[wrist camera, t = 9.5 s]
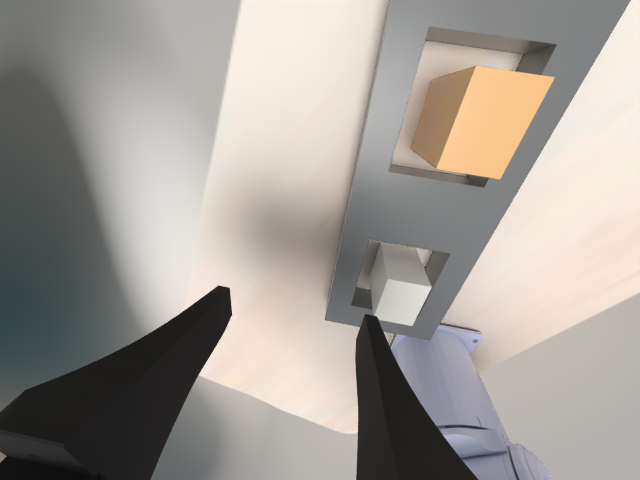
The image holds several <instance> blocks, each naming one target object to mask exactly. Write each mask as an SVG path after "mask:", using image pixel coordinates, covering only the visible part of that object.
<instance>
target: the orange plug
mask: <svg viewBox="0 0 640 480" xmlns="http://www.w3.org/2000/svg"><path fill="white" fill-rule="evenodd" d="M554 78H555V77H550V76H543V75H536V74H529V73H522V72H515V71H509V70H502V69H495V68H488V67H481V66H474V67H471V68H468V69H464V70H461V71H458V72H455V73H452V74H449V75H446V76H443V77H439V78H436V79H433V80H432V82H431V85H430V88H429V92H428V95H427V98H426V101H425V104H424V107H423V111H422V114H421V117H420V120H419V123H418V126H417V130H416V133H415V136H414V139H413V142H412V145H411V149H412V150H413V151H414V152H416V153H417V154H418V155H419V156H421V157H422V158H423V159H424V160H426V161H427V162H428V163H430V164H431V165H432V166H433V167H435V168H436V169H440V170H446V171H452V172H459V173H465V174H471V175H477V176H483V177H489V178H495V179H501V177H502V175H503V173H504V171H505V169H506V168H507V166H508V164H509V162H510V160H511V158H512V156H513V154H514V153H515V151H516V149H517V147H518V145H519V143H520V141H521V140H522V138H523V136H524V134H525V132H526V130H527V128H528V127H529V125H530V123H531V121H532V119H533V117H534V115H535V114H536V112H537V110H538V108H539V106H540V104H541V102H542V100H543V99H544V97H545V95H546V93H547V91H548V89H549V87H550V86H551V84H552V82H553V80H554Z"/></svg>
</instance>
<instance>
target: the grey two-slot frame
mask: <svg viewBox="0 0 640 480" xmlns="http://www.w3.org/2000/svg"><path fill="white" fill-rule="evenodd" d="M630 1H631V0H389V5H388V10H387V14H386V19H385V24H384V29H383V34H382V39H381V44H380V48H379V53H378V58H377V63H376V68H375V73H374V78H373V82H372V87H371V92H370V97H369V102H368V107H367V111H366V116H365V121H364V126H363V131H362V136H361V141H360V145H359V150H358V155H357V160H356V165H355V170H354V175H353V179H352V184H351V189H350V194H349V199H348V204H347V209H346V213H345V218H344V223H343V228H342V233H341V238H340V242H339V247H338V252H337V257H336V262H335V267H334V272H333V276H332V281H331V286H330V291H329V296H328V301H327V308H326V315H325V320H327V321H332V322H337V323H342V324H347V325H353V326H358V327H361V324H362V321H363V318H364V315H365V314H368V315H373V309H372V297H371V291H370V290H365V289H360V288H356V285H357V281H358V278H359V274H360V271H361V267H362V264H363V260H364V257H365V253H366V249H367V246H368V242H369V239H372V240H378V241H383V242H389V243H394V244H400V245H406V246H411V247H417V248H422V249H428V250H434V251H433V253H432V255H431V258H430V260H429V262H428V264H427V266H426V268H425V272H426V275H427V277H428V279H429V282H430V284H431V286H432V288H431V290H430V292H429V294H428V296H427V298H426V300H425V302H424V304H423V306H422V308H421V310H420V312H419V314H418V316H417V318H416V320H415V322H414V324H413V326H409V325H404V324H398V323H393V322H388V321H383V320H379V322H380V325H381V327H382V330H383V332H389V333H394V334H399V335H404V336H409V337H414V338H419V339H424V340H431V338H432V336H433V334H434V333H435V331H436V329H437V328H438V326H439V324H440V323H441V321H442V319H443V317H444V316H445V314H446V312H447V311H448V309H449V307H450V306H451V304H452V302H453V301H454V299H455V297H456V295H457V294H458V292H459V290H460V289H461V287H462V285H463V284H464V282H465V280H466V279H467V277H468V275H469V273H470V272H471V270H472V268H473V267H474V265H475V263H476V262H477V260H478V258H479V256H480V255H481V253H482V251H483V250H484V248H485V246H486V245H487V243H488V241H489V240H490V238H491V236H492V234H493V233H494V231H495V229H496V228H497V226H498V224H499V223H500V221H501V219H502V217H503V216H504V214H505V212H506V211H507V209H508V207H509V206H510V204H511V202H512V201H513V199H514V197H515V195H516V194H517V192H518V190H519V189H520V187H521V185H522V184H523V182H524V180H525V179H526V177H527V175H528V173H529V172H530V170H531V168H532V167H533V165H534V163H535V162H536V160H537V158H538V156H539V155H540V153H541V151H542V150H543V148H544V146H545V145H546V143H547V141H548V140H549V138H550V136H551V134H552V133H553V131H554V129H555V128H556V126H557V124H558V123H559V121H560V119H561V118H562V116H563V114H564V112H565V111H566V109H567V107H568V106H569V104H570V102H571V101H572V99H573V97H574V95H575V94H576V92H577V90H578V89H579V87H580V85H581V84H582V82H583V80H584V79H585V77H586V75H587V73H588V72H589V70H590V68H591V67H592V65H593V63H594V62H595V60H596V58H597V57H598V55H599V53H600V51H601V50H602V48H603V46H604V45H605V43H606V41H607V40H608V38H609V36H610V34H611V33H612V31H613V29H614V28H615V26H616V24H617V23H618V21H619V19H620V18H621V16H622V14H623V12H624V11H625V9H626V7H627V6H628V4H629V2H630ZM425 40H427V41H434V42H442V43H449V44H456V45H463V46H470V47H477V48H484V49H491V50H498V51H505V52H512V53H520V54H524V55H523V57H522V60H521V62H520V64H519V66H518V68H517V70H516V72H522V73H529V74H536V75H543V76H550V77H555V78H554V80H553V82H552V84H551V86H550V87H549V89H548V91H547V93H546V95H545V97H544V99H543V100H542V102H541V104H540V106H539V108H538V110H537V112H536V114H535V115H534V117H533V119H532V121H531V123H530V125H529V127H528V128H527V130H526V132H525V134H524V136H523V138H522V140H521V141H520V143H519V145H518V147H517V149H516V151H515V153H514V154H513V156H512V158H511V160H510V162H509V164H508V166H507V168H506V169H505V171H504V173H503V175H502V177H501V179H495V178H489V177H483V176H477V175H471V174H469V175H468V177H464V176H458V175H452V174H446V173H440V172H433V171H427V170H421V169H415V168H409V167H403V166H397V165H391V160H392V157H393V153H394V150H395V146H396V143H397V139H398V136H399V132H400V128H401V125H402V121H403V118H404V114H405V111H406V107H407V104H408V100H409V96H410V93H411V89H412V86H413V82H414V79H415V75H416V72H417V68H418V64H419V61H420V57H421V54H422V50H423V47H424V43H425Z"/></svg>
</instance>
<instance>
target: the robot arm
mask: <svg viewBox="0 0 640 480" xmlns="http://www.w3.org/2000/svg"><path fill="white" fill-rule="evenodd" d="M231 316H232V309H231V298H230V288H228V287H223V286H217V287H216V288H215V289H213V290H212V291H210V292H209V293H208V294H206V295H205V296H204V297H202V298H201V299H200V300H198V301H197V302H196V303H194V304H193V305H192V306H190V307H189V308H187V309H186V310H185V311H183V312H182V313H180V314H179V315H178V316H176V317H174V318H173V319H171V320H170V321H168V322H167V323H165V324H164V325H162V326H161V327H159V328H157V329H156V330H154V331H153V332H151V333H149V334H148V335H146V336H144V337H142V338H141V339H139V340H137V341H135V342H133V343H132V344H130V345H128V346H126V347H124V348H122V349H120V350H118V351H116V352H114V353H112V354H110V355H108V356H106V357H104V358H102V359H100V360H97V361H95V362H93V363H91V364H89V365H86V366H84V367H82V368H79V369H77V370H75V371H73V372H70V373H68V374H65V375H63V376H60V377H58V378H55V379H53V380H50V381H48V382H45V383H42V384H40V385H37V386H35V387H32V388H30V389H27V390H25V391H24V392H23V393H22V394H21V395H20V396H18V397H17V398H16V399H15V400H14V401H12V402H11V403H10V404H9V405H8V406H7V407H5V408H4V409H3V410H2V411H1V412H0V452H2V453H3V454H5V455H6V456H7V457H6V458H5V459H4V460H3V461H2V462H1V463H0V480H150V479H151V477H152V474H153V472H154V469H155V467H156V465H157V462H158V460H159V457H160V455H161V453H162V450H163V448H164V446H165V443H166V441H167V439H168V437H169V434H170V432H171V430H172V428H173V426H174V423H175V421H176V419H177V417H178V415H179V413H180V411H181V409H182V406H183V404H184V402H185V400H186V398H187V396H188V394H189V392H190V390H191V388H192V386H193V384H194V382H195V380H196V378H197V377H198V375H199V373H200V371H201V370H202V368H203V367H204V365H205V363H206V362H207V360H208V358H209V357H210V355H211V353H212V352H213V350H214V348H215V347H216V345H217V343H218V342H219V340H220V338H221V337H222V335H223V333H224V331H225V329H226V327H227V325H228V323H229V320H230V318H231ZM482 338H483V336H482V334H481V333H480V332H476V331H471V330H466V329H461V328H455V327H450V326H445V325H440V324H439V326H438V328H437V329H436V331H435V333H434V334H433V336H432V338H431V340H424V339H419V338H414V337H409V336H404V335H399V334H396V336H395V339H394V341H393V343H392V345H391V347H390V346H389V344H388V342H387V339H386V337H385V335H384V332H383V330H382V327H381V325H380V322H379V319H378V317H377V316H373V315H368V314H365V315H364V318H363V321H362V324H361V327H360V330H359V333H358V336H357V339H356V358H355V361H356V379H357V396H358V451H357V452H358V453H357V476H356V480H554V479H553V477H552V476H551V474H550V473H549V471H548V470H547V468H546V467H545V466H544V464H543V463H542V461H541V460H540V459H539V458H538V457H537V456H536V455H535V454H534V453H532V452H531V451H529V450H527V449H526V448H525V447H524V446H523V445H521V444H514V445H513V444H512V443H511V442H510V441H509V439H508V436H507V434H506V432H505V430H504V428H503V426H502V423H501V422H500V419H499V417H498V415H497V413H496V411H495V408H494V406H493V404H492V402H491V400H490V398H489V395H488V393H487V391H486V389H485V387H484V385H483V382H482V380H481V378H480V376H479V374H478V372H477V369H476V367H475V365H474V363H473V361H472V359H471V356H470V354H471V353H472V351H473V350H474V349H475V348H476V346H477V345H478V344H479V342H480V341H481V340H482Z"/></svg>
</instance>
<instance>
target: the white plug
mask: <svg viewBox="0 0 640 480" xmlns="http://www.w3.org/2000/svg"><path fill="white" fill-rule="evenodd" d="M370 286H371V297H372V309H373V316H377V317H378V319H379V320H383V321H388V322H393V323H398V324H404V325H409V326H413V324H414V322H415V320H416V318H417V316H418V314H419V312H420V310H421V308H422V306H423V304H424V302H425V300H426V298H427V296H428V294H429V292H430V290H431V288H432V286H431V284H430V282H429V279H428V277H427V275H426V272H425V270H424V268H423V265H422V263H421V260H420V258H419V256H418V253H417V251H416V249H415V248H410V247H404V246H399V245H393V244H387V243H382V242H381V243H380V246H379V250H378V253H377V256H376V259H375V262H374V266H373V269H372V272H371V275H370Z"/></svg>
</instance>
